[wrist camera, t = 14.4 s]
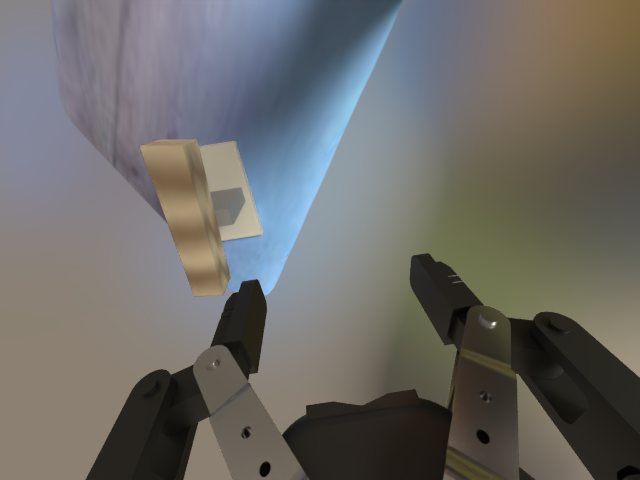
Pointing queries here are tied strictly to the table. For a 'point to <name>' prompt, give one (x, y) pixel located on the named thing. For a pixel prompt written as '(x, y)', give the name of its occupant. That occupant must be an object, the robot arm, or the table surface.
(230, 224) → the stand
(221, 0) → the table surface
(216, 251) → the rectangular block
